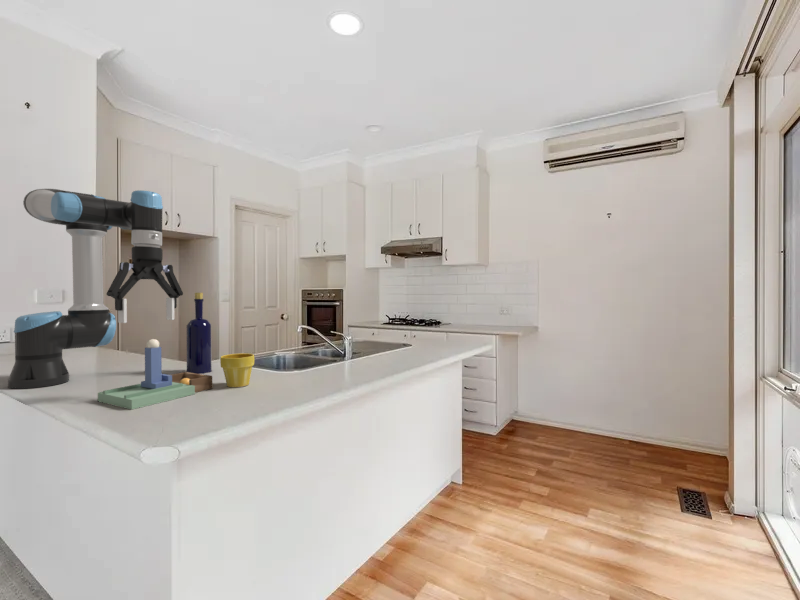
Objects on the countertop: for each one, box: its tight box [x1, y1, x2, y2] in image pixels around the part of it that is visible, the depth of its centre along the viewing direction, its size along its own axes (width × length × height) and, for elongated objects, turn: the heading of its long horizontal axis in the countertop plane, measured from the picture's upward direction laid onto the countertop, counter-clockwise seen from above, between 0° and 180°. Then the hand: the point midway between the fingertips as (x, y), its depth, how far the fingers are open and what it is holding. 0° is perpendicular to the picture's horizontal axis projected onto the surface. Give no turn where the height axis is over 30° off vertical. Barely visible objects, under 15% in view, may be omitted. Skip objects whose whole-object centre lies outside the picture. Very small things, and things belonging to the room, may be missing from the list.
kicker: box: [140, 338, 172, 389], centre depth 120 cm, size 7×5×14 cm
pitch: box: [97, 382, 195, 410], centre depth 118 cm, size 16×18×3 cm
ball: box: [180, 378, 190, 385], centre depth 128 cm, size 4×4×4 cm
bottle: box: [186, 292, 213, 375], centre depth 155 cm, size 9×9×30 cm
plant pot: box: [219, 352, 255, 388], centre depth 133 cm, size 10×10×10 cm
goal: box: [171, 371, 213, 393], centre depth 129 cm, size 13×7×4 cm, turn 63°
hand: (147, 321), depth 117 cm, fingers open, 13 cm apart
